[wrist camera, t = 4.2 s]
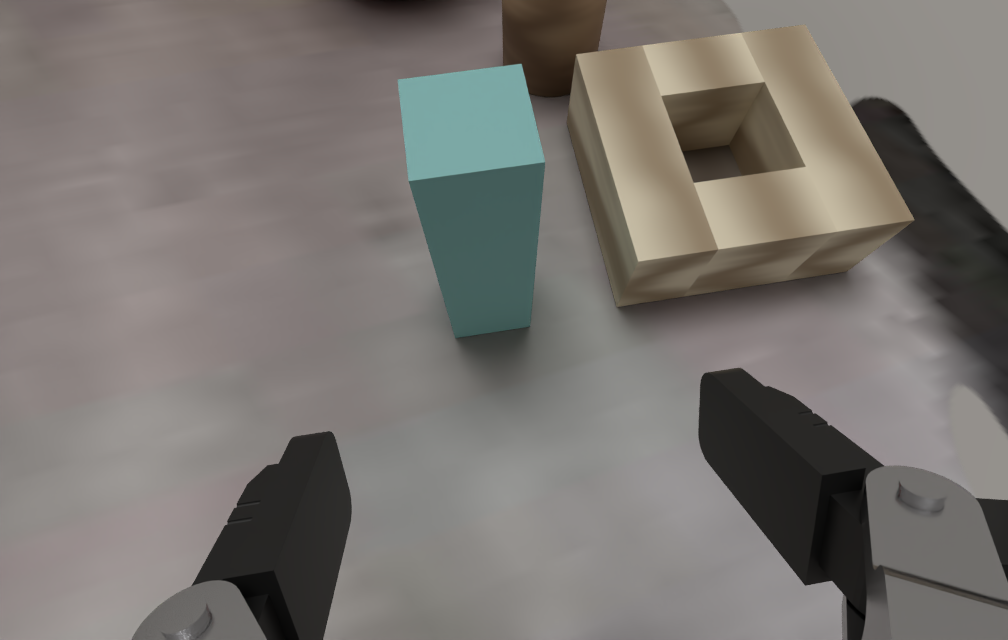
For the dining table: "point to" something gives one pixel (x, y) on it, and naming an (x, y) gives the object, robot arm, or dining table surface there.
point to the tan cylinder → (550, 40)
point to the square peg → (477, 191)
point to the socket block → (725, 165)
